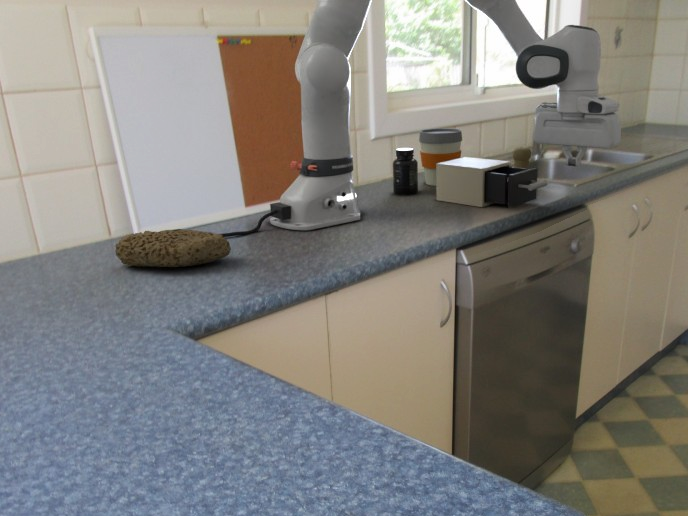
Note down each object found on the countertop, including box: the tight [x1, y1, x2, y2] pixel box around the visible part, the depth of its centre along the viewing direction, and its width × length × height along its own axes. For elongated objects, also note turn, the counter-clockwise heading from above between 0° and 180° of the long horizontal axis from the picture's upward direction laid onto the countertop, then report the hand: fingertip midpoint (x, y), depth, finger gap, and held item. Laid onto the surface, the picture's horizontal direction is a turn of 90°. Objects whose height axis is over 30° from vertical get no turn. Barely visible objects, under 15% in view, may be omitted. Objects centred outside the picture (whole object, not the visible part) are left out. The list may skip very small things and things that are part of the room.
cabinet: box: [436, 156, 512, 208], centre depth 172 cm, size 15×13×10 cm
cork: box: [511, 146, 532, 170], centre depth 185 cm, size 6×6×11 cm
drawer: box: [484, 166, 549, 208], centre depth 166 cm, size 18×11×8 cm, turn 49°
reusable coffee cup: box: [418, 127, 463, 187], centre depth 194 cm, size 13×12×15 cm
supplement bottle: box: [392, 147, 419, 196], centre depth 182 cm, size 7×7×12 cm
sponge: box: [114, 228, 232, 268], centre depth 126 cm, size 13×8×20 cm
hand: (573, 165), depth 153 cm, fingers closed
